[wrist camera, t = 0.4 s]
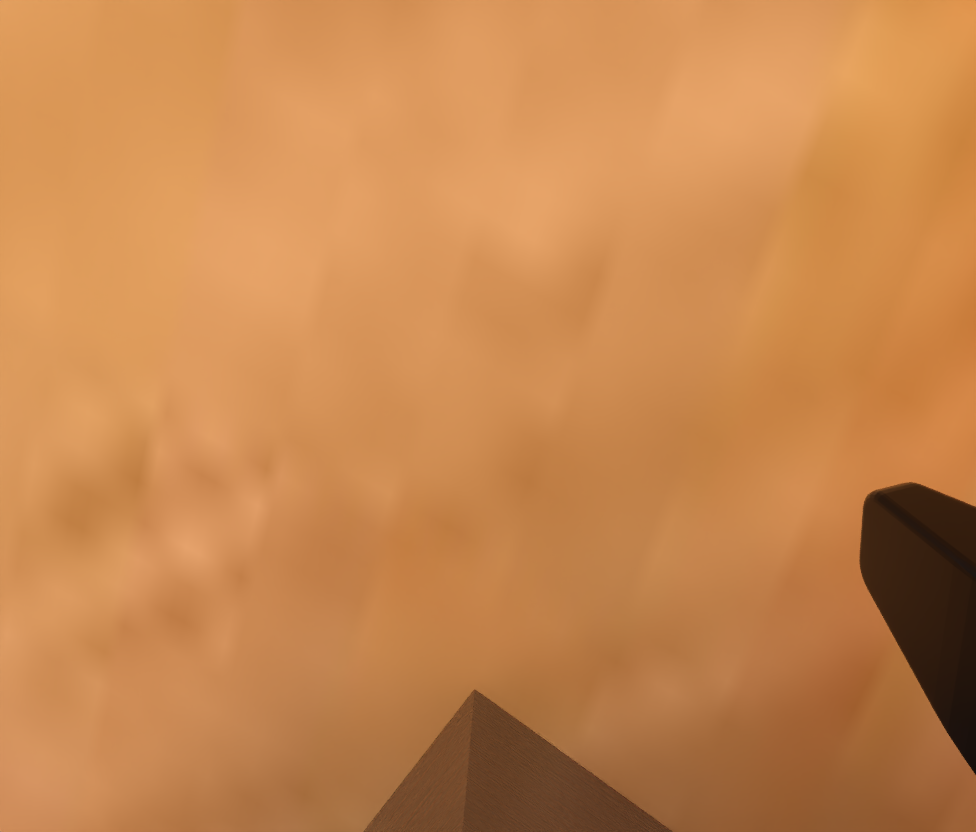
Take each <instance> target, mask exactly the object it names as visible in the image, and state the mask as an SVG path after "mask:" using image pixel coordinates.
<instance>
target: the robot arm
mask: <svg viewBox="0 0 976 832" xmlns="http://www.w3.org/2000/svg"><path fill="white" fill-rule="evenodd" d="M860 569H861V573H862V577H863V579H864V582H865V584H866V587H867V589H868V590H869V592H870V594H871V596H872V598H873V600H874V601H875V603H876V605H877V607H878V609H879V610H880V612H881V614H882V616H883V618H884V620H885V621H886V623H887V625H888V627H889V629H890V631H891V632H892V634H893V636H894V638H895V640H896V642H897V643H898V645H899V647H900V649H901V651H902V652H903V654H904V656H905V658H906V660H907V662H908V663H909V665H910V667H911V669H912V671H913V673H914V674H915V676H916V678H917V680H918V682H919V684H920V685H921V687H922V689H923V691H924V693H925V694H926V696H927V698H928V700H929V702H930V704H931V705H932V707H933V709H934V711H935V712H936V714H937V716H938V718H939V719H940V721H941V723H942V724H943V726H944V728H945V730H946V731H947V733H948V734H949V736H950V737H951V739H952V740H953V742H954V744H955V745H956V747H957V748H958V750H959V751H960V753H961V754H962V756H963V757H964V759H965V760H966V761H967V763H968V764H969V766H970V767H971V769H972V770H973V772H974V773H975V774H976V507H975V506H973V505H970V504H968V503H965V502H963V501H960V500H958V499H955V498H953V497H950V496H948V495H945V494H943V493H940V492H938V491H936V490H933V489H931V488H928V487H926V486H923V485H920V484H917V483H912V482H909V483H902V484H898V485H894V486H890V487H887V488H883V489H879V490H875V491H873V492H871V493H870V494H868V496H867V497H866V499H865V501H864V506H863V516H862V530H861V544H860Z"/></svg>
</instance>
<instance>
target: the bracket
mask: <svg viewBox="0 0 976 832" xmlns="http://www.w3.org/2000/svg"><path fill="white" fill-rule="evenodd" d="M364 832H672V831H670V830H669V829H668V828H666V827H665V826H664V825H662V824H661V823H659V822H658V821H657V820H655V819H654V818H652V817H651V816H650V815H648V814H647V813H645V812H644V811H643V810H641V809H640V808H639V807H637V806H636V805H634V804H633V803H632V802H630V801H629V800H627V799H626V798H625V797H623V796H622V795H620V794H619V793H618V792H616V791H615V790H614V789H612V788H611V787H609V786H608V785H607V784H605V783H604V782H602V781H601V780H600V779H598V778H597V777H595V776H594V775H593V774H591V773H590V772H589V771H587V770H586V769H584V768H583V767H582V766H580V765H579V764H577V763H576V762H575V761H573V760H572V759H571V758H569V757H568V756H566V755H565V754H564V753H562V752H561V751H559V750H558V749H557V748H555V747H554V746H552V745H551V744H550V743H548V742H547V741H546V740H544V739H543V738H541V737H540V736H539V735H537V734H536V733H534V732H533V731H532V730H530V729H529V728H527V727H526V726H525V725H523V724H522V723H521V722H519V721H518V720H516V719H515V718H514V717H512V716H511V715H509V714H508V713H507V712H505V711H504V710H502V709H501V708H500V707H498V706H497V705H496V704H494V703H493V702H491V701H490V700H489V699H487V698H486V697H484V696H483V695H482V694H480V693H479V692H477V691H476V690H474V691H473V692H472V693H471V695H470V696H469V697H468V699H467V700H466V701H465V702H464V704H463V705H462V706H461V708H460V709H459V710H458V711H457V713H456V714H455V715H454V717H453V718H452V719H451V720H450V722H449V723H448V724H447V726H446V727H445V728H444V729H443V731H442V732H441V733H440V735H439V736H438V737H437V738H436V740H435V741H434V742H433V744H432V745H431V746H430V747H429V749H428V750H427V751H426V753H425V754H424V755H423V756H422V758H421V759H420V760H419V761H418V763H417V764H416V765H415V767H414V768H413V769H412V770H411V772H410V773H409V774H408V776H407V777H406V778H405V779H404V781H403V782H402V783H401V785H400V786H399V787H398V788H397V790H396V791H395V792H394V794H393V795H392V796H391V797H390V799H389V800H388V801H387V803H386V804H385V805H384V806H383V808H382V809H381V810H380V812H379V813H378V814H377V815H376V817H375V818H374V819H373V820H372V822H371V823H370V824H369V826H368V827H367V828H366V829H365V831H364Z"/></svg>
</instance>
